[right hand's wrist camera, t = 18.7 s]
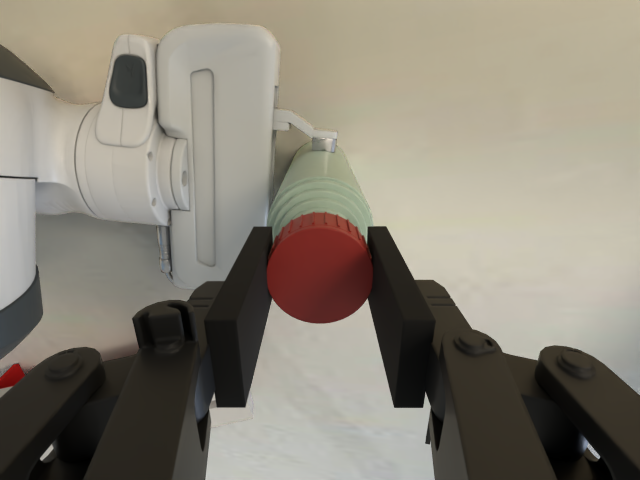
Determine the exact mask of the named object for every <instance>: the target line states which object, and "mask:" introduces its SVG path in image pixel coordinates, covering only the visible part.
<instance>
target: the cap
mask: <svg viewBox="0 0 640 480" xmlns="http://www.w3.org/2000/svg"><path fill="white" fill-rule="evenodd" d="M371 260H372V257H371V254H370V251H369V248H368V245H367V243H366V240H365V237H364V235H361V233H360V232H359V230H358V227H357V226H356V227H355V226H354V225H353V224H352V223H350V222H349V220H348V219H347V220H346V219H344V218H342V217H340V216H338V214H336V215H334V214H330V213H327V212H325V213H315V212H313V213H310V214H306V215H303V214H302V215H301V216H300V217H298V218H296V219H294V220H290V222H289V223H288V224H287V225H286V226H285V227H282V229H281V231H280V233H279V234H278V236H277V235H276V237H275V240H274V243H273V245H272V248H271V251H270V254H269V257H268V265H267V284H268V290H269V292H270V294H271V296H272V298H273V300H274V301H275V302H276V304H277V305H278V306H279V307H280V308H281V309H282V310H283V311H284V312H286V313H287V314H289V315H290V316H292V317H294V318H296V319H299V320H301V321H305V322H309V323H331V322H335V321H338V320H341V319H344V318H346V317H348V316H350V315H351V314H353V313H354V312H355V311H357V310H358V309H359V308H360V307H361V306H362V305H363V304H364V302H365V301H366V300H367V298H368V296H369V294H370V292H371V289H372V280H373V265H372V261H371Z"/></svg>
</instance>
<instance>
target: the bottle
mask: <svg viewBox="0 0 640 480" xmlns="http://www.w3.org/2000/svg"><path fill="white" fill-rule="evenodd" d="M313 212H315V213H325V212H327V213H330V214H334V215H336V214H338V216H340V217H342V218H344V219H346V220H347V219H348V220H349V222H350V223H352V224H353V225H354V226H355V227H356V226H357V227H358V230H359V232H360V233H361V235H364V237H365V240H366V243H367V230H368V226H373V219H372V214H371V211H370V208H369V206H368V204H367V201H366V199H365V197H364V195H363V193H362V191H361V189H360V186H359V184H358V182H357V180H356V178H355V176H354V174H353V171H352V169H351V167H350V165H349V163H348V161H347V159H346V156H345V154H344V153H343V151H342V150H341V149H340V148H339V147H338V146H337V145H336V149H335V152H327V151H325V150H322V151H314V150H312V141H311V142H308V143H307V144H305V145H303V146H302V147H301V148H300V149H299V150H298V151H297V153H296V154H295V156H294V158H293V160H292V163H291V165H290V167H289V169H288V171H287V173H286V175H285V178H284V180H283V182H282V184H281V186H280V188H279V190H278V193H277V195H276V197H275V199H274V201H273V203H272V206H271V208H270V210H269V214H268V218H267V226H272V234H273V243H274V240H275V237H276V235H277V236H278V234H279V233H280V231H281V229H282V227H285V226H286V225H287V224H288V223H289V222H290V220H294V219H296V218H298V217H300V216H301V215H302V214H303V215H306V214H310V213H313Z"/></svg>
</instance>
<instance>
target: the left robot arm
mask: <svg viewBox="0 0 640 480" xmlns="http://www.w3.org/2000/svg"><path fill="white" fill-rule="evenodd" d="M280 54H281V48H280V45H279V43H278V41H277V40H276V38H275V37H274V36H273V34H272V33H271V32H270V31H269V30H268V29H266V28H265V27H262V26H259V25H252V24H240V23H204V24H191V25H184V26H180V27H177V28H174V29H172V30H170V31H169V32H168V33H166V34H165V35H164V36H163V38H162V39H161V40H160V39H157V38H154V37H150V36H145V35H138V34H122V35H119V36H118V37H117V38H116V40H115V43H114V46H113V50H112V55H111V61H110V66H109V72H108V77H107V81H106V86H105V91H104V95H103V99H102V102H97V103H90V104H72V103H69V102H66V101H64V100H62V99H59V98H56V97H54V93H55V92H54V91H53V90H52V89H51V87H50V86H49V85H48V84H47V83H46V82H45V81H44V80H43V79H42V78H41V77H40V76H39V75H37V74H36V73H35V72H34V71H33V70H32V69H30V68H29V67H28V66H27V65H26V64H25V63H24V62H22V61H21V60H20V59H19V58H18V57H17V56H16V55H14V54H13V53H12V52H11V51H9V50H8V49H6V48H5V47H3V46H2V45H0V359H2V358H3V357H4V356H6V355H7V354H8V353H9V352H10V351H12V350H13V349H14V348H15V347H16V346H17V345H18V344H19V343H20V342H21V341H22V340H23V339H24V338H25V337H26V336H27V335H28V334H29V333H30V332H31V331H32V330H33V329H34V328H35V326H36V325H37V324H38V323H39V322H40V320H41V318H42V316H43V307H42V298H41V289H40V280H39V271H38V266H37V265H36V214H44V215H60V214H66V213H72V212H78V213H83V214H86V215H89V216H91V217H94V218H97V219H101V220H108V221H118V222H129V223H139V224H149V225H156V229H157V240H158V245H159V250H160V257H159V265H160V269H161V272H163V273H165V274H166V276H167V278H168V279H169V280H170V281H171V282H172V283H173V284H174V286H176V287H178V288H182V289H193V290H195V289H196V288H197V287H199V286H200V285H202V284H203V283H205V282H206V281H225V279H226V278H227V276H228V274H229V272H230V270H231V268H232V266H233V264H234V263H235V261H236V259H237V257H238V255H239V253H240V251H241V249H242V247H243V246H244V244H245V242H246V240H247V238H248V236H249V234H250V232H251V230H252V229H253V227H254V226H267V218H268V214H269V210H270V208H271V206H272V203H273V186H274V168H275V149H276V130H280V131H288V130H289V129H290V128H291V124H292V125H294V126H295V127H296V128H298V129H299V130H301V131H302V132H303V133H305V134H306V135H307V136H309V137H310V138H312V137H313V139H312V150H314V151H322V150H325V151H327V152H335V149H336V142H337V134H338V132H337V131H335V130H328V129H319V128H314V126H313V125H311V124H310V123H309V122H307V121H306V120H305V119H303V118H302V117H301V116H299V115H298V114H297V113H296V112H294V111H293V110H285V109H278V92H279V73H280ZM170 272H172V275H173V276H172V275H171V273H170Z"/></svg>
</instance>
